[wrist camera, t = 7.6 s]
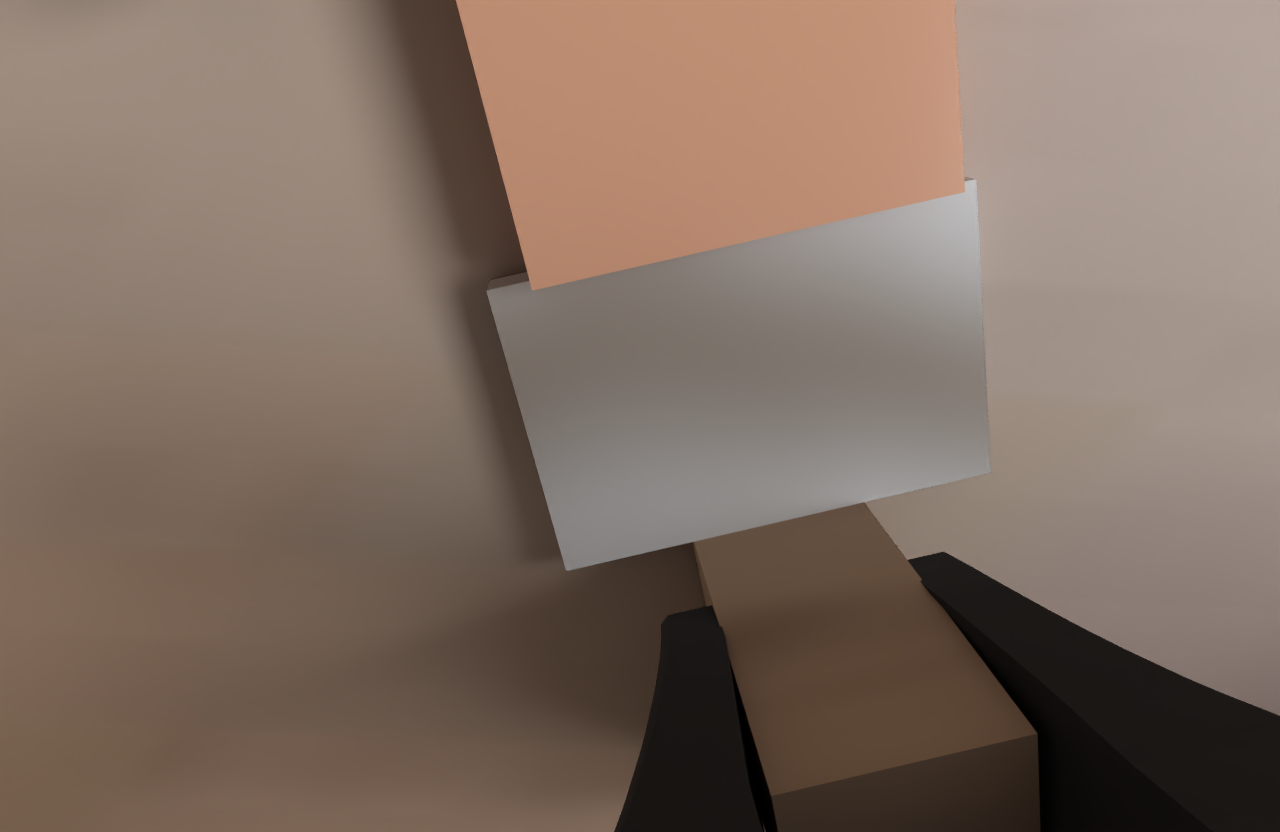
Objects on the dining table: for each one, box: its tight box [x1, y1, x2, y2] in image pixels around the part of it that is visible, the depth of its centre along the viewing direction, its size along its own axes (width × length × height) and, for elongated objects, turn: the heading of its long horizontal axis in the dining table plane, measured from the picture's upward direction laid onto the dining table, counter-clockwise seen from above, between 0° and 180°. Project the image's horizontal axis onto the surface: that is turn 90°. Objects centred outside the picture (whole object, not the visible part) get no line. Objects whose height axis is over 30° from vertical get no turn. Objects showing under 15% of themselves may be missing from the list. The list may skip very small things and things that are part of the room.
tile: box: [456, 0, 965, 291], centre depth 9 cm, size 5×5×2 cm
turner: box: [486, 177, 1040, 832], centre depth 10 cm, size 9×6×5 cm, turn 12°
